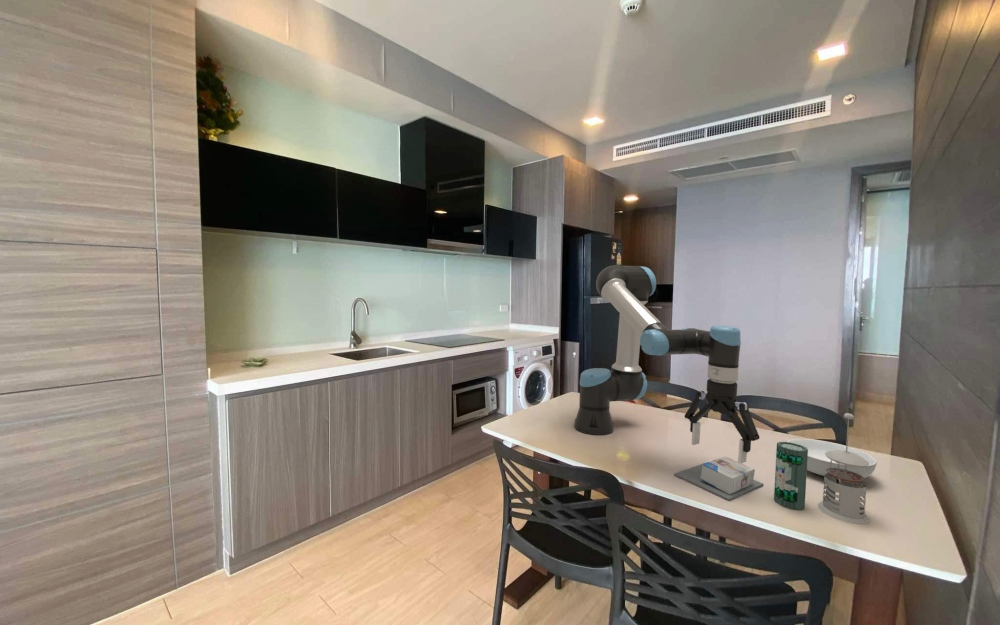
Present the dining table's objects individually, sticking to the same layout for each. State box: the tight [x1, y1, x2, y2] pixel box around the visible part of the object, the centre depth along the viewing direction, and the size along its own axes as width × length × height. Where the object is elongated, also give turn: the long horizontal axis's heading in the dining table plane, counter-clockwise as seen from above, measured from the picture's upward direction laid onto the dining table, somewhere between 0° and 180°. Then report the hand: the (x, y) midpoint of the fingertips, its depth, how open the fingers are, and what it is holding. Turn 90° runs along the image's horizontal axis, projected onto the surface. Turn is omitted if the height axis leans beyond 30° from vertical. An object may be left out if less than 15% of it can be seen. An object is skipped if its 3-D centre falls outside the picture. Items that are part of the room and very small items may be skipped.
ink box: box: [700, 455, 756, 494], centre depth 108 cm, size 9×5×12 cm
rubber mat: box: [674, 461, 764, 502], centre depth 110 cm, size 16×17×1 cm
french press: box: [817, 412, 871, 525], centre depth 95 cm, size 10×12×25 cm
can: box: [773, 441, 808, 511], centre depth 99 cm, size 6×6×15 cm
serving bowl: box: [786, 438, 878, 480], centre depth 117 cm, size 21×21×7 cm
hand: (717, 452), depth 111 cm, fingers open, 13 cm apart
